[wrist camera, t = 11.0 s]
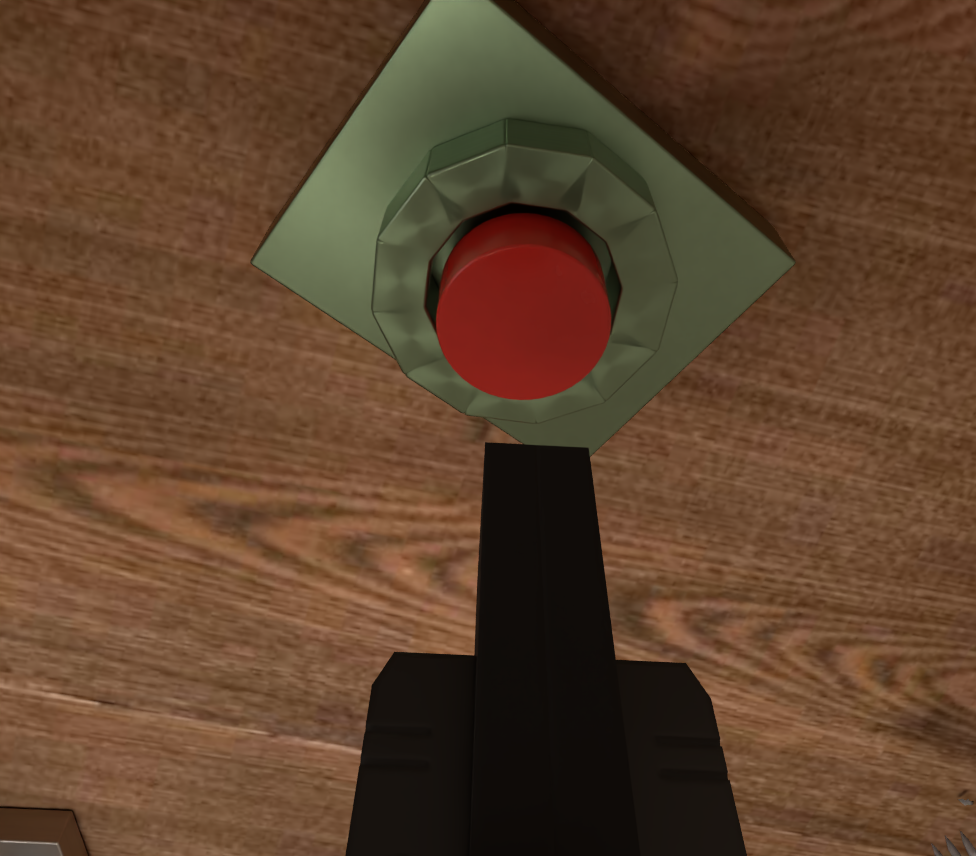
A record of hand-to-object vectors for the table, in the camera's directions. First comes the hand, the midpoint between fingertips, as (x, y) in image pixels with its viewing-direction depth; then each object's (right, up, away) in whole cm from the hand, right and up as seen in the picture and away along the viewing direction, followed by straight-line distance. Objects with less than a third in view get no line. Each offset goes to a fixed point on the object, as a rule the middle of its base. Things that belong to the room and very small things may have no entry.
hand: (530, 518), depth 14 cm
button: (0, +4, +6) cm, 8 cm away
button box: (0, +6, +9) cm, 11 cm away
